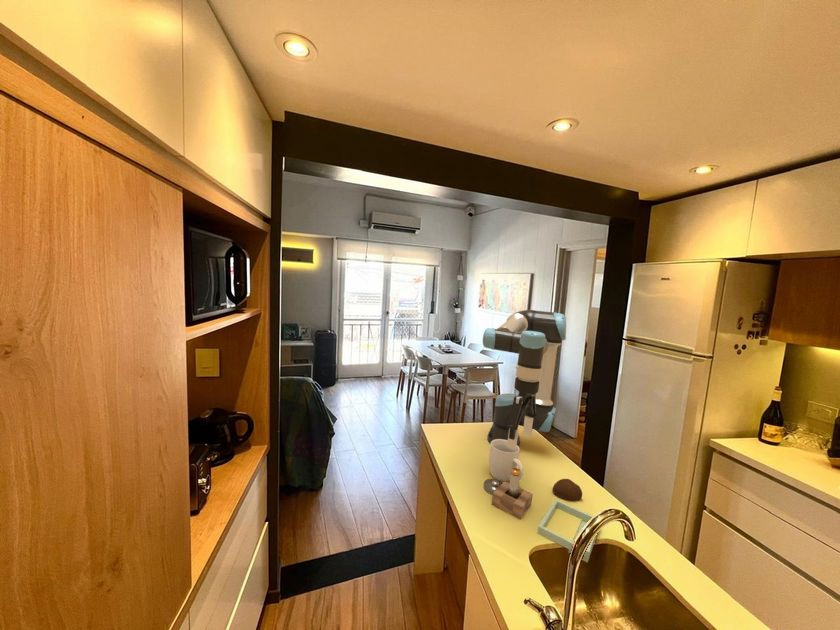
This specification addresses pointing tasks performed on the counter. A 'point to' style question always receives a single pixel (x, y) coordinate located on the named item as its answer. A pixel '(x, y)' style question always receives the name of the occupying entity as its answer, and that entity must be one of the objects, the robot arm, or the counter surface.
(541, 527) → the light teal rectangular frame
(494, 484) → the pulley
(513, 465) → the mug
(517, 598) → the counter surface
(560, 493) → the potato
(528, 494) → the block
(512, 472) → the pin
